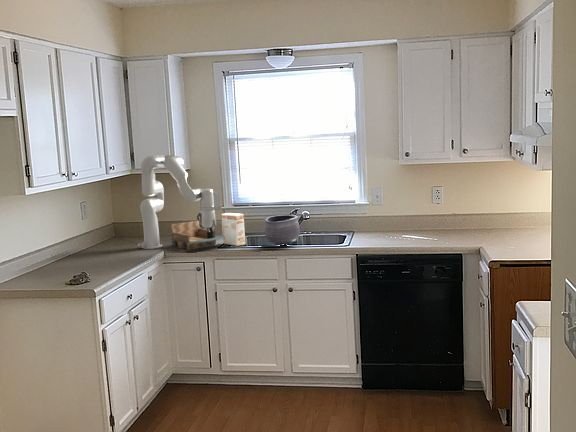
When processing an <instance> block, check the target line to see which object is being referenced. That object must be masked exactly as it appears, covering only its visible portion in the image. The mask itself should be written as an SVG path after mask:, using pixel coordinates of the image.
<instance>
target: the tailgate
mask: <svg viewBox="0 0 576 432" xmlns="http://www.w3.org/2000/svg"><path fill="white" fill-rule="evenodd" d="M223 238H225V236H223V235H222V236H217V237H216V236H215V238H211V239H205V240H199V241H194V242H190V244H194V243H200V242H212V241H216V242H217V240H221V239H222V240H223Z"/></svg>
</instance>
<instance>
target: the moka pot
mask: <svg viewBox="0 0 576 432" xmlns="http://www.w3.org/2000/svg"><path fill="white" fill-rule="evenodd" d="M196 219H197V221H199V228H201V229H205V228H204V227H203V226H202V212H198V214H197V216H196Z"/></svg>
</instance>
